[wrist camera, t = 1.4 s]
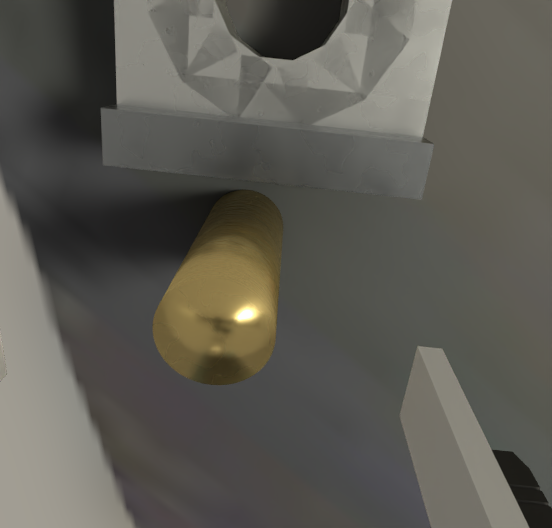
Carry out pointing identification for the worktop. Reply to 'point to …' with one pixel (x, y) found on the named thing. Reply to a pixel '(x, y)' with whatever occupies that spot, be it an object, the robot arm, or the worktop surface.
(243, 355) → the gold brass cylinder
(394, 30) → the jig
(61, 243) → the worktop surface
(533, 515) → the robot arm
